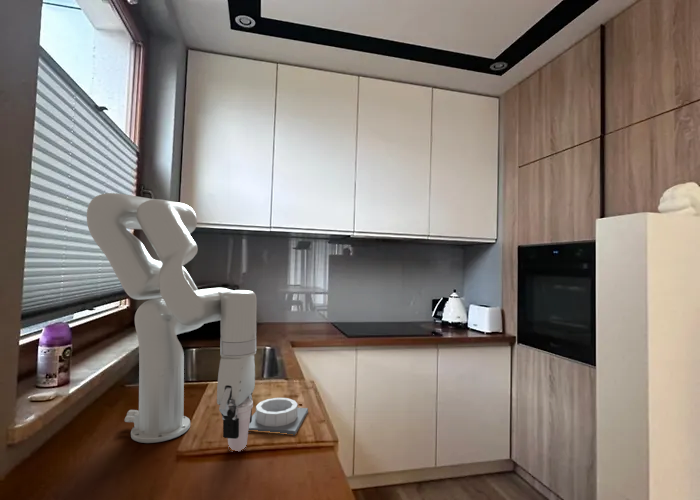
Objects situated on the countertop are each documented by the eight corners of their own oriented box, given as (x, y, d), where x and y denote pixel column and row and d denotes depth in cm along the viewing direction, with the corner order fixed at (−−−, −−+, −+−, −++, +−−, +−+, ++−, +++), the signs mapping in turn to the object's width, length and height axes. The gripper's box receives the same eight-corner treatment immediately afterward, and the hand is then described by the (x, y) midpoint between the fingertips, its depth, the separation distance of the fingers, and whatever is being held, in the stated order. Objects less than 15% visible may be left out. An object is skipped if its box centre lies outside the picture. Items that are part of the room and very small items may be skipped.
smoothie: (241, 437, 87) (242, 376, 87) (258, 446, 83) (259, 382, 83) (216, 448, 82) (216, 383, 82) (233, 458, 78) (233, 390, 78)
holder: (241, 431, 90) (241, 414, 90) (260, 409, 103) (261, 394, 103) (295, 435, 88) (295, 417, 88) (308, 412, 101) (308, 396, 101)
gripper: (238, 337, 92) (237, 412, 92) (202, 357, 75) (201, 449, 75) (268, 338, 91) (267, 414, 91) (238, 358, 74) (238, 451, 74)
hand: (237, 429), depth 83 cm, fingers closed on smoothie, 6 cm apart
